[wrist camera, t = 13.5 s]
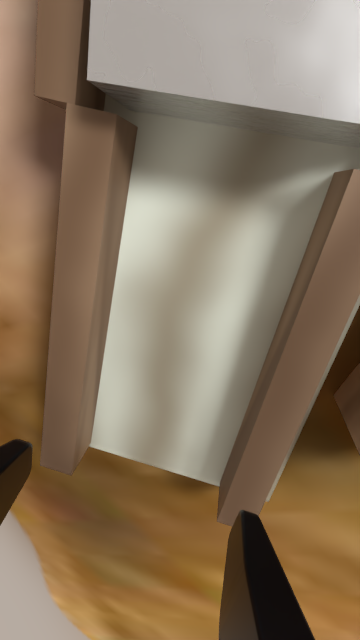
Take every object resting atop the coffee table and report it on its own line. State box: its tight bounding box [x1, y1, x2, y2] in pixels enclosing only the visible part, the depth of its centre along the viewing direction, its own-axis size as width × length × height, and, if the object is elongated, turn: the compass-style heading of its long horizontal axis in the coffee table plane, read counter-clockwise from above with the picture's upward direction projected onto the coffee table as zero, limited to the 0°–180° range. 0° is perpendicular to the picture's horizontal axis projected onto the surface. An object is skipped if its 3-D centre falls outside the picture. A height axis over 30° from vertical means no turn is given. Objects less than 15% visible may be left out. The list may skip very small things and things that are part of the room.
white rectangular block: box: [87, 0, 360, 148], centre depth 10 cm, size 9×4×4 cm, turn 80°
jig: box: [34, 0, 360, 527], centre depth 15 cm, size 14×24×4 cm, turn 167°
